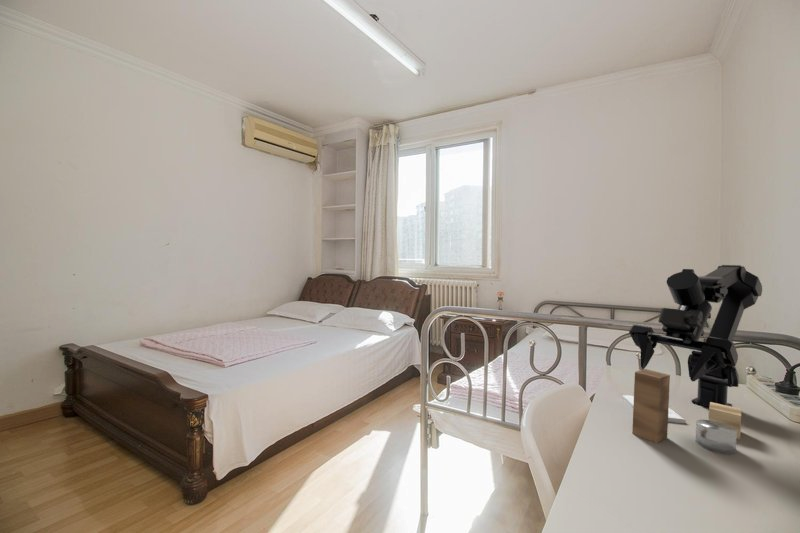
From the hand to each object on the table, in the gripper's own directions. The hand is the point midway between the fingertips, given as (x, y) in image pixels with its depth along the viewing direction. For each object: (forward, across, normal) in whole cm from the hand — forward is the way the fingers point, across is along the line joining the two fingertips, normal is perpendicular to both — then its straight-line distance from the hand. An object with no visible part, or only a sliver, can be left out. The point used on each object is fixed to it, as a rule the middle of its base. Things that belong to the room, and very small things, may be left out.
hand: (665, 373), depth 76 cm
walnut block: (+13, 0, +4) cm, 14 cm away
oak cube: (+1, +7, +16) cm, 18 cm away
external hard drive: (+3, -6, +15) cm, 17 cm away
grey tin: (+8, +8, +9) cm, 15 cm away
